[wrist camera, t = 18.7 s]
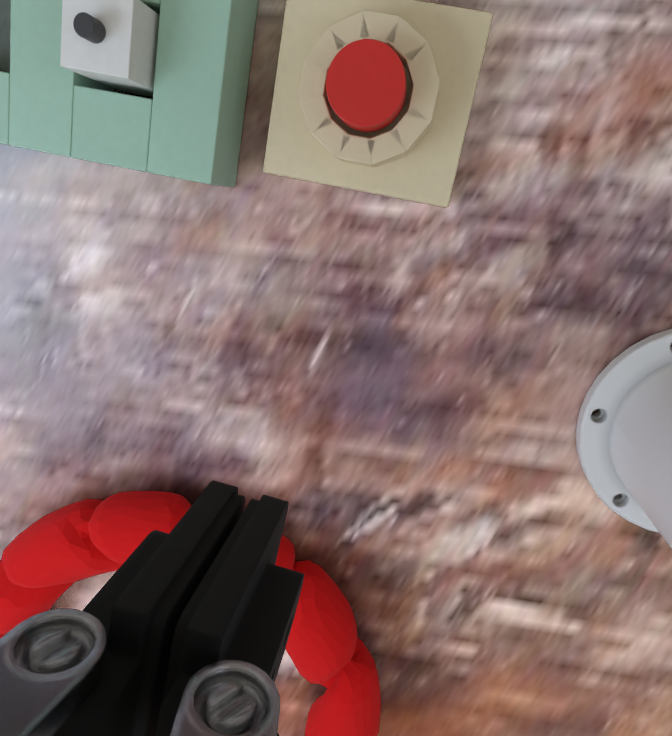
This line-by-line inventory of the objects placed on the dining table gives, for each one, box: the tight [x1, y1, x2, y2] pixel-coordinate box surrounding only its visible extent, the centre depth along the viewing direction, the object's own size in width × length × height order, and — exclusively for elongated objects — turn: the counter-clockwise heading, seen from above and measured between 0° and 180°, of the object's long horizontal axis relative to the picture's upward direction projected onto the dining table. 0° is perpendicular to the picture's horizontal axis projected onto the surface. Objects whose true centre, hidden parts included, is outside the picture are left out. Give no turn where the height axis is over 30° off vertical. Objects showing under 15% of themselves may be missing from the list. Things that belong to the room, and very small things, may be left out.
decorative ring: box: [0, 491, 381, 736], centre depth 40 cm, size 7×30×30 cm
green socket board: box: [0, 0, 258, 187], centre depth 30 cm, size 19×11×4 cm, turn 80°
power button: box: [326, 39, 406, 132], centre depth 26 cm, size 4×4×2 cm
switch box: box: [263, 0, 493, 208], centre depth 28 cm, size 10×9×4 cm
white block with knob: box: [60, 0, 160, 97], centre depth 28 cm, size 3×3×7 cm
